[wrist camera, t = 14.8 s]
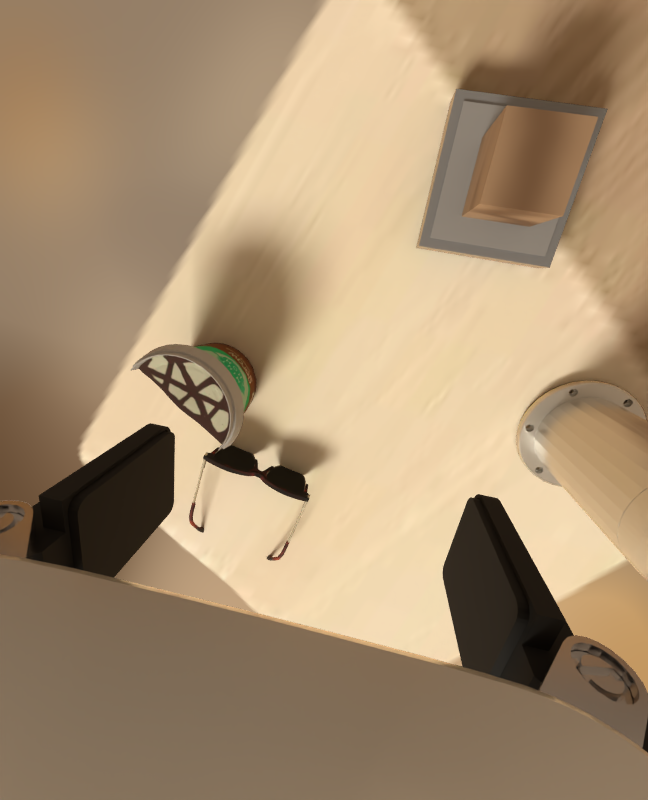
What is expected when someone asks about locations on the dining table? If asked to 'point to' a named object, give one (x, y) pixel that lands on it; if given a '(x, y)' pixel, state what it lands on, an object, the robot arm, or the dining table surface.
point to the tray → (454, 175)
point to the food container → (204, 384)
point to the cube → (528, 166)
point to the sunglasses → (248, 466)
